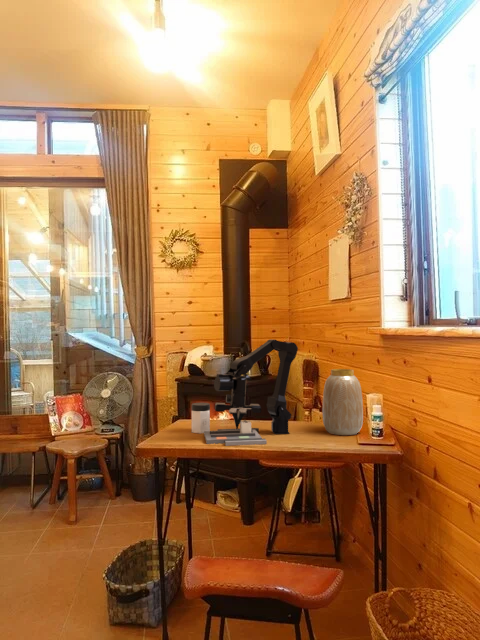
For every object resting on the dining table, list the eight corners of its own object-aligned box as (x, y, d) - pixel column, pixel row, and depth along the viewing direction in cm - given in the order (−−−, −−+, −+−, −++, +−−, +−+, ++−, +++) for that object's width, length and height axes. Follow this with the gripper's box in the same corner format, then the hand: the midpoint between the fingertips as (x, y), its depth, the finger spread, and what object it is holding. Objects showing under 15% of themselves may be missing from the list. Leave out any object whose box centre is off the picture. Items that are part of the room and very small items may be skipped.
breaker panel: (255, 432, 194) (255, 427, 194) (262, 441, 179) (262, 435, 179) (204, 434, 191) (204, 428, 191) (206, 444, 175) (206, 437, 175)
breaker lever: (249, 432, 188) (249, 419, 188) (251, 434, 184) (251, 422, 184) (240, 432, 188) (240, 420, 188) (241, 435, 183) (241, 422, 183)
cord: (258, 431, 198) (258, 428, 198) (258, 431, 196) (258, 428, 196) (217, 432, 195) (217, 429, 195) (217, 433, 194) (217, 430, 194)
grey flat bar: (264, 442, 178) (264, 438, 178) (266, 444, 175) (266, 440, 175) (224, 443, 176) (224, 440, 176) (225, 445, 173) (225, 441, 173)
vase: (366, 429, 200) (365, 369, 201) (359, 438, 184) (358, 372, 185) (327, 426, 207) (327, 367, 208) (318, 434, 192) (317, 370, 192)
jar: (196, 434, 192) (196, 406, 192) (187, 430, 199) (187, 403, 199) (214, 431, 197) (214, 404, 197) (205, 428, 204) (205, 401, 204)
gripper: (257, 389, 195) (255, 425, 194) (214, 387, 192) (212, 424, 192) (262, 392, 184) (260, 430, 183) (216, 390, 181) (214, 429, 181)
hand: (236, 428), depth 185 cm, fingers closed
